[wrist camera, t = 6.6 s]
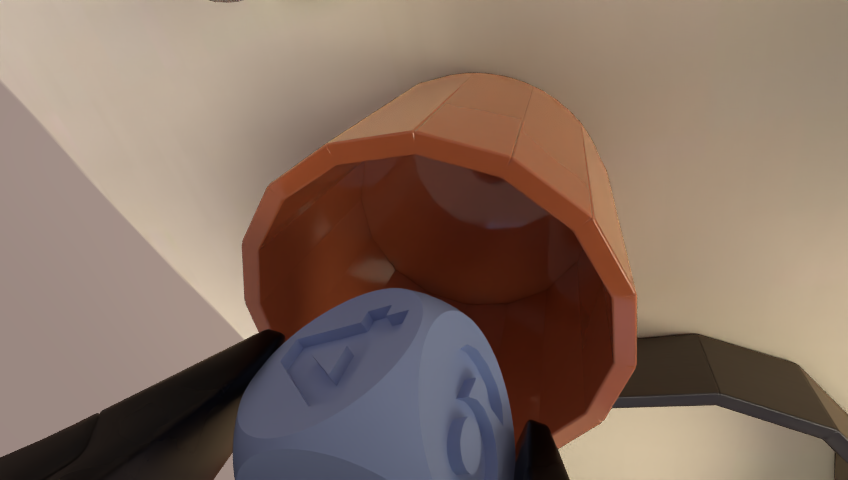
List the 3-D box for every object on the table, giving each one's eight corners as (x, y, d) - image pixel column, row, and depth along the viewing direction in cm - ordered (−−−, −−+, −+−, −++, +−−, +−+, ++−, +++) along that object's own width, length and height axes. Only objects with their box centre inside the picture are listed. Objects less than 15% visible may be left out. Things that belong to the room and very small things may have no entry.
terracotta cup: (654, 110, 15) (732, 213, 8) (555, 331, 20) (551, 507, 13) (370, 43, 16) (232, 83, 9) (348, 267, 21) (248, 395, 15)
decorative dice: (304, 309, 11) (185, 454, 7) (450, 265, 9) (382, 430, 6) (383, 424, 12) (313, 593, 9) (524, 406, 10) (504, 608, 7)
